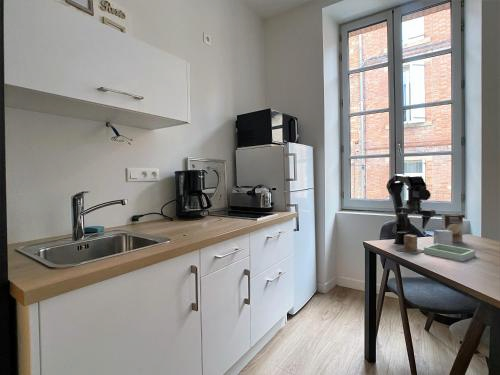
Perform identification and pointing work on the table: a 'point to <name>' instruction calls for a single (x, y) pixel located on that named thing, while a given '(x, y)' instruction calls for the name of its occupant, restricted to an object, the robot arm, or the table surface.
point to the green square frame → (462, 255)
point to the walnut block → (410, 242)
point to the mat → (410, 251)
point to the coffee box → (453, 225)
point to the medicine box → (443, 237)
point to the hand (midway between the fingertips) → (414, 227)
